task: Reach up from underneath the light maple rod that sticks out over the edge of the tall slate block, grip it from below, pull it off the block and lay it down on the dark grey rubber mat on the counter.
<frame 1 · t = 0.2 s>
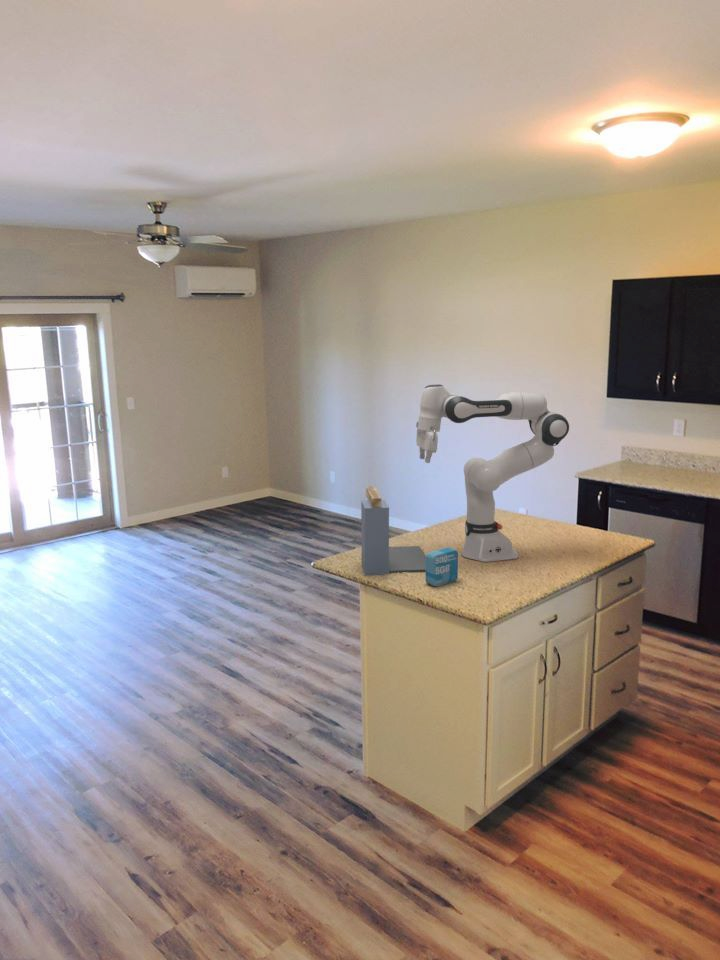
hand: (424, 460, 294), 40 cm above the table, tool pointing down, fingers open, 8 cm apart
rubber mat: (405, 560, 299), on the table
data package: (441, 583, 273), on the table
maple rod: (373, 501, 286), point 26 cm above the table, touching slate block
slate block: (374, 569, 287), on the table
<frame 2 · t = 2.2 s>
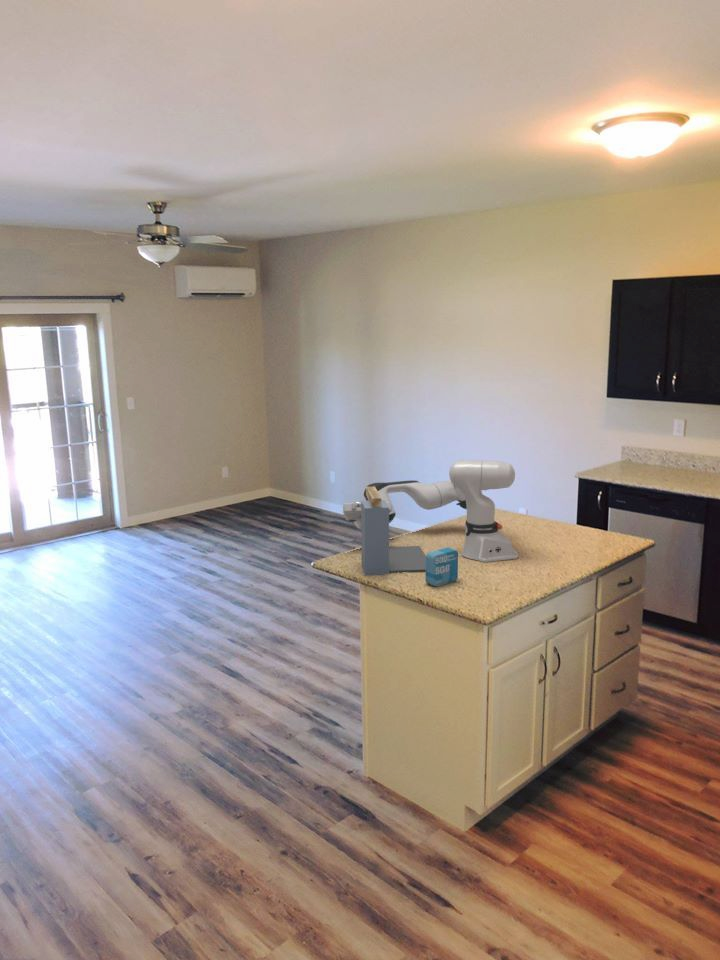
hand: (369, 503, 302), 21 cm above the table, tool pointing upward, fingers open, 8 cm apart
nothing on the table moved.
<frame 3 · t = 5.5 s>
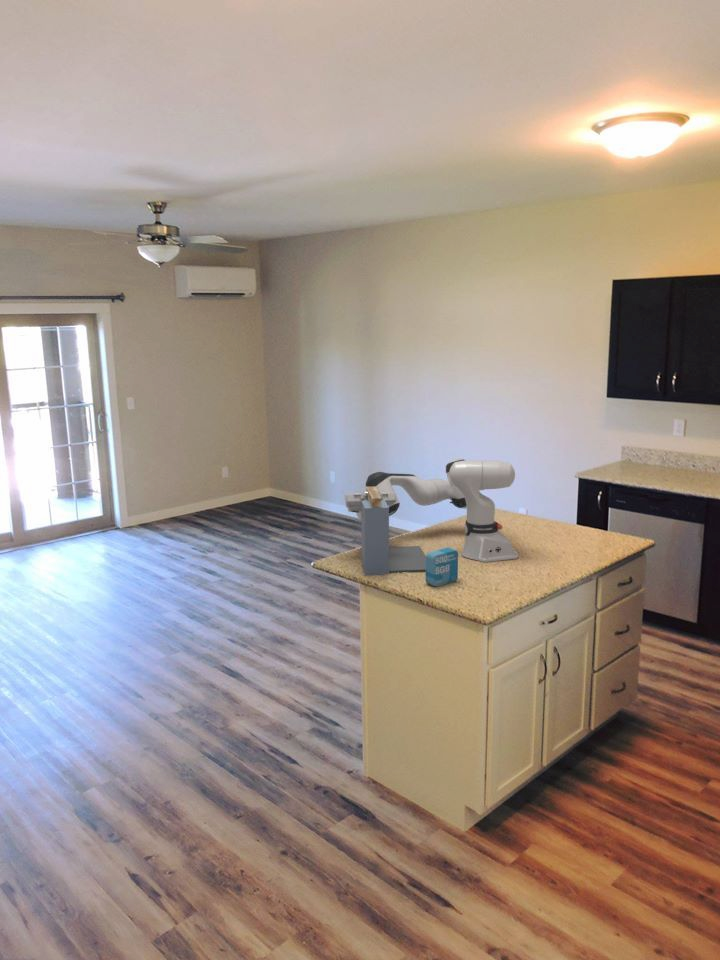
hand: (372, 493, 289), 28 cm above the table, tool pointing upward, fingers closed on maple rod, 3 cm apart
maple rod: (373, 501, 286), point 26 cm above the table, touching gripper, slate block
everything else where it was.
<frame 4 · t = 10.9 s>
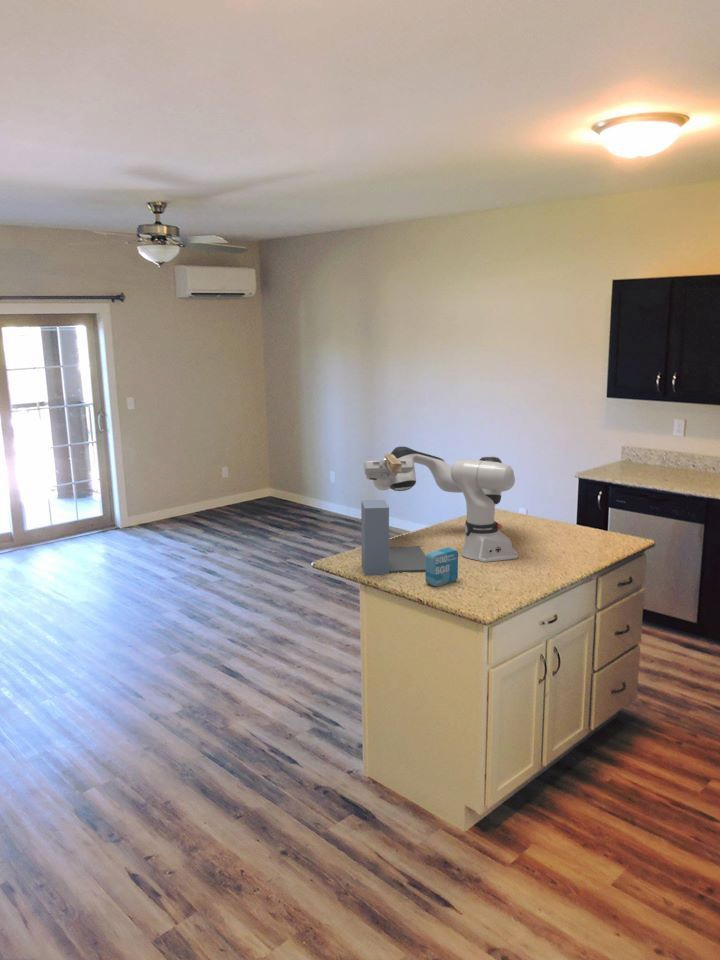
hand: (391, 460, 297), 39 cm above the table, tool pointing upward, fingers closed on maple rod, 3 cm apart
maple rod: (392, 467, 295), point 37 cm above the table, touching gripper
everything else where it was.
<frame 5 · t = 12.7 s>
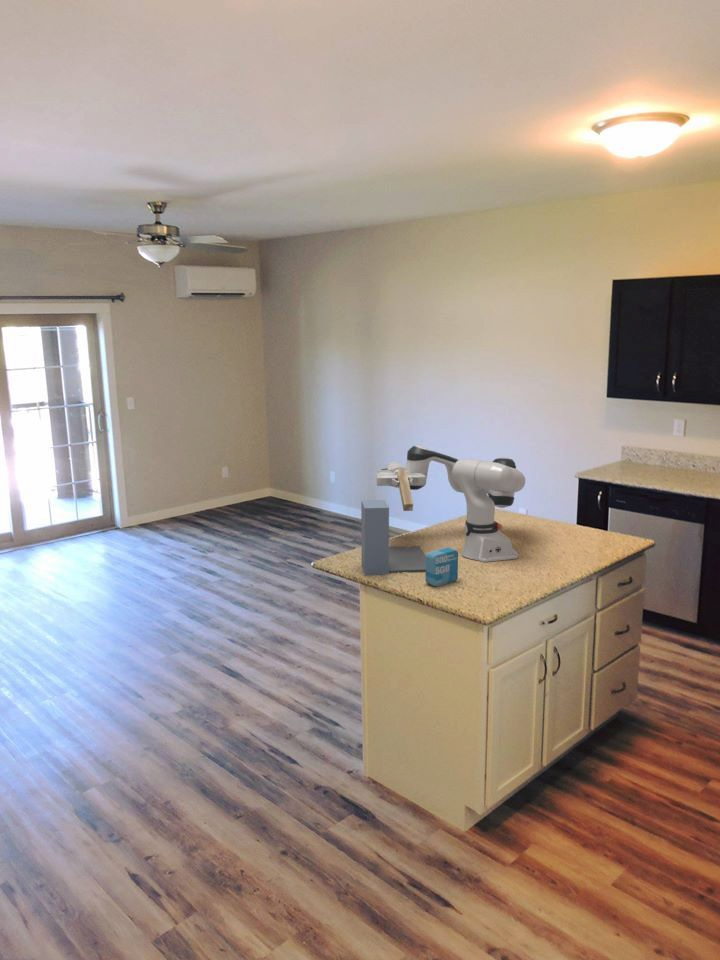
hand: (403, 483, 297), 30 cm above the table, tool horizontal, fingers closed on maple rod, 3 cm apart
maple rod: (404, 493, 296), point 27 cm above the table, tilted 30°, touching gripper
everything else where it was.
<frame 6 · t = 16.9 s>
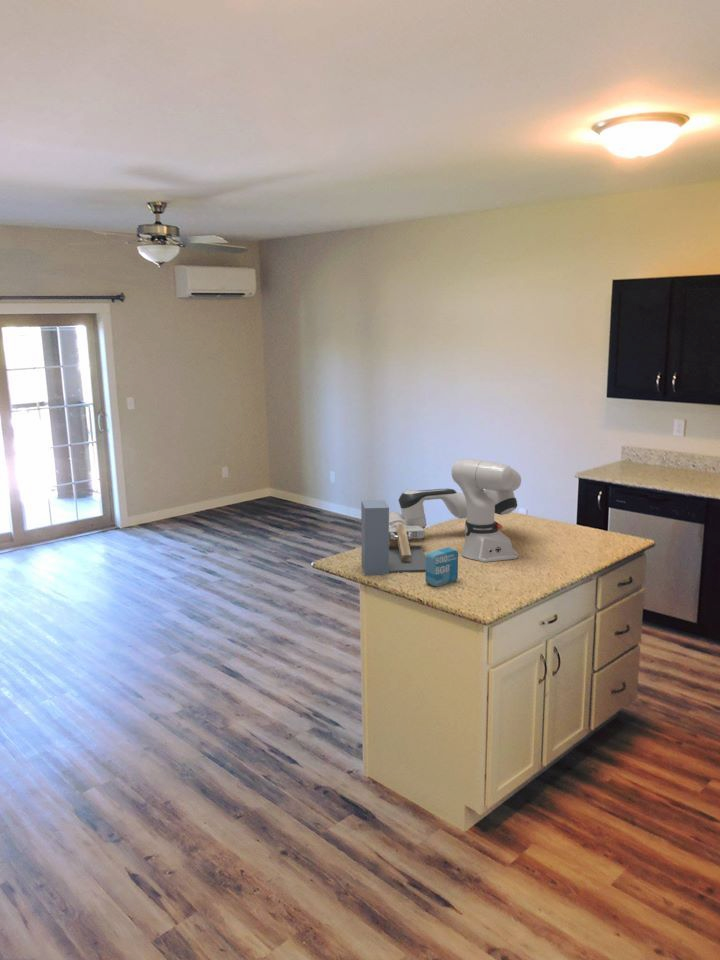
hand: (402, 538, 302), 8 cm above the table, tool horizontal, fingers closed on maple rod, 4 cm apart
maple rod: (402, 546, 301), point 5 cm above the table, tilted 22°, touching gripper
everything else where it was.
when the fingers open (7 cm above the table, at t = 17.7 s): maple rod drops 3 cm, resting on rubber mat.
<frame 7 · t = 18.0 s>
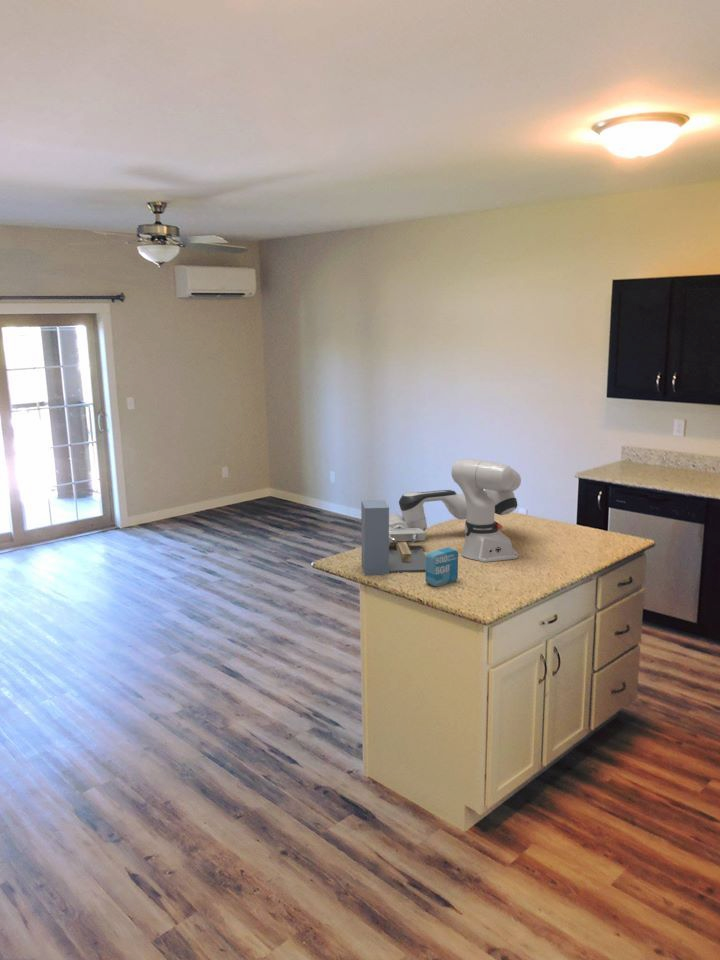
hand: (403, 540, 302), 7 cm above the table, tool horizontal, fingers open, 7 cm apart
maple rod: (403, 554, 302), point 1 cm above the table, touching rubber mat
everything else where it was.
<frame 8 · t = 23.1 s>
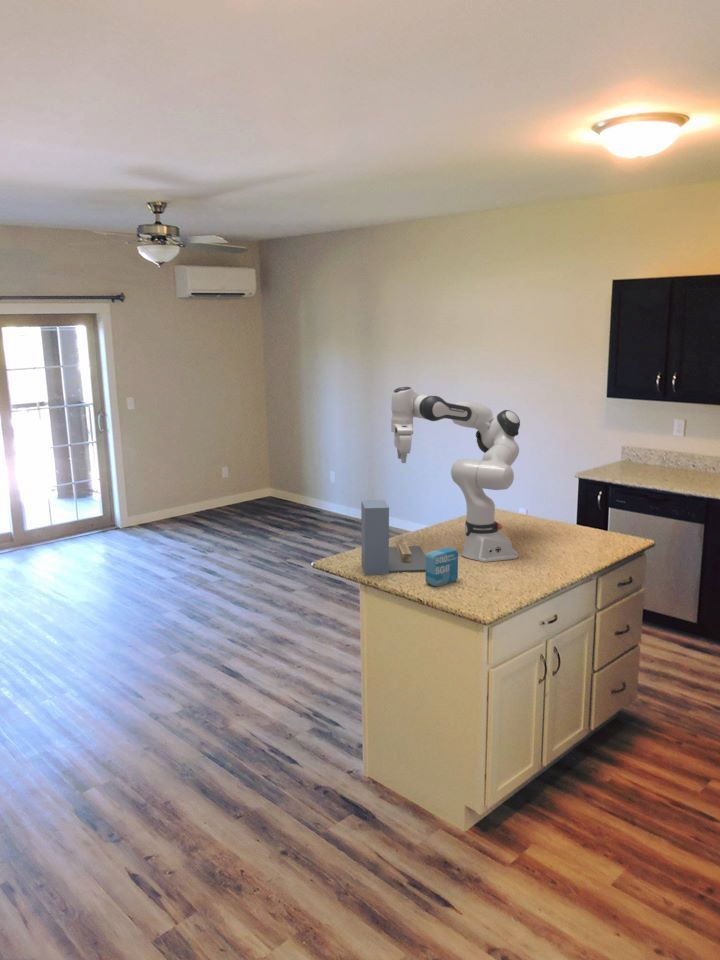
hand: (401, 460, 307), 37 cm above the table, tool pointing down, fingers open, 8 cm apart
nothing on the table moved.
at the end: maple rod inside the target area on the rubber mat (3.9 cm from its centre), point 1.0 cm above the rubber mat's base; the gripper is holding nothing; maple rod moved 30.1 cm from its start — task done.
